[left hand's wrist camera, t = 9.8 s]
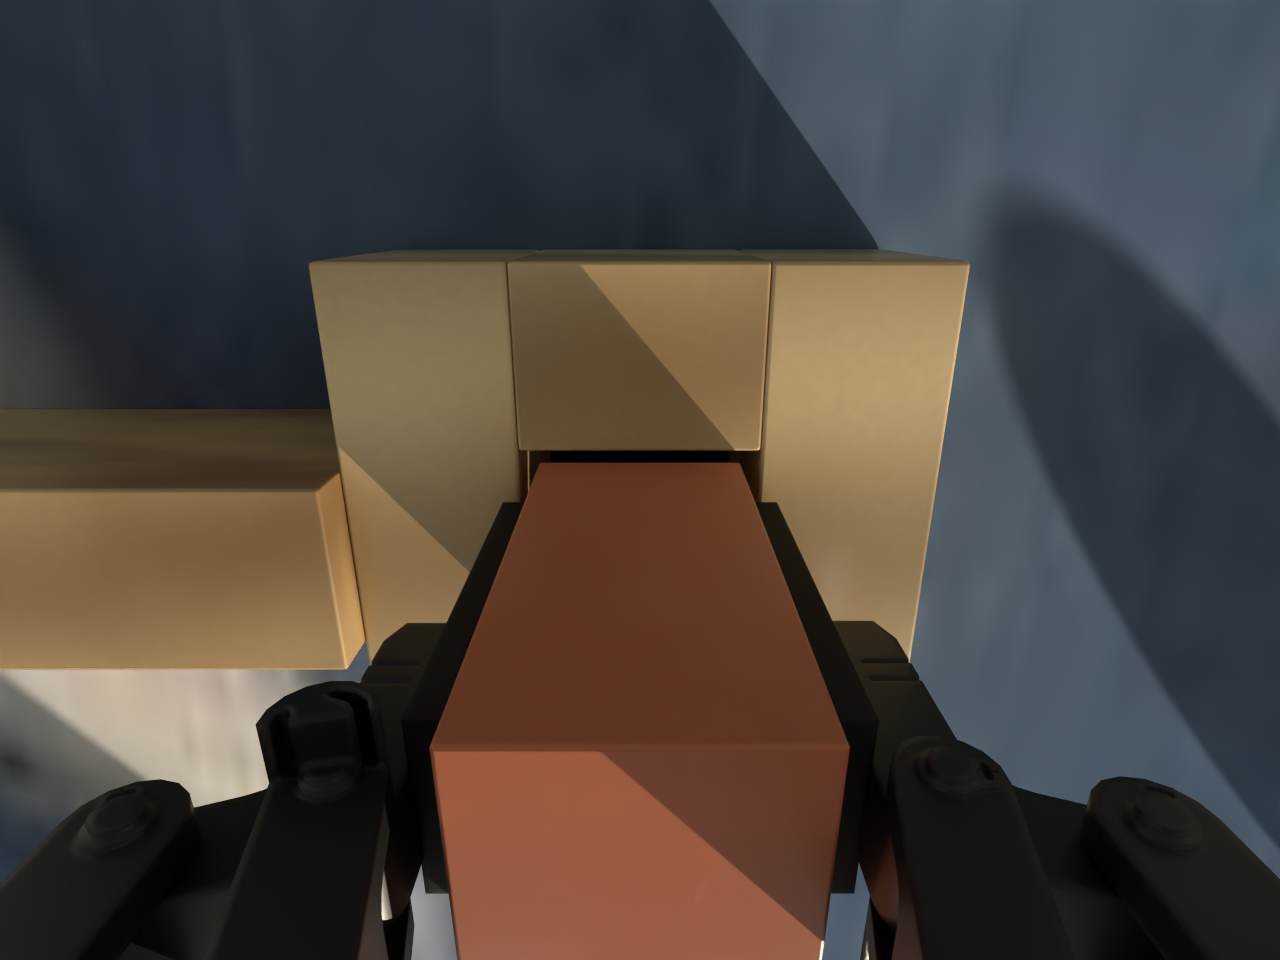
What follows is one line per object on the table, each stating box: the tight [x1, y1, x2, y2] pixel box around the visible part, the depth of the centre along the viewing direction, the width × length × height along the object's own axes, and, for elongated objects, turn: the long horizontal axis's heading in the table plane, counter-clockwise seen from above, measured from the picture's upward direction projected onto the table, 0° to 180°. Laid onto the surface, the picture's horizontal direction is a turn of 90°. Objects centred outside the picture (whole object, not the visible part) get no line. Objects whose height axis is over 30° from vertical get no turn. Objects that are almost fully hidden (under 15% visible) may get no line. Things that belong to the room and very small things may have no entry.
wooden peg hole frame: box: [0, 249, 970, 670], centre depth 17 cm, size 12×26×6 cm, turn 90°
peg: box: [430, 463, 850, 960], centre depth 11 cm, size 4×4×8 cm
